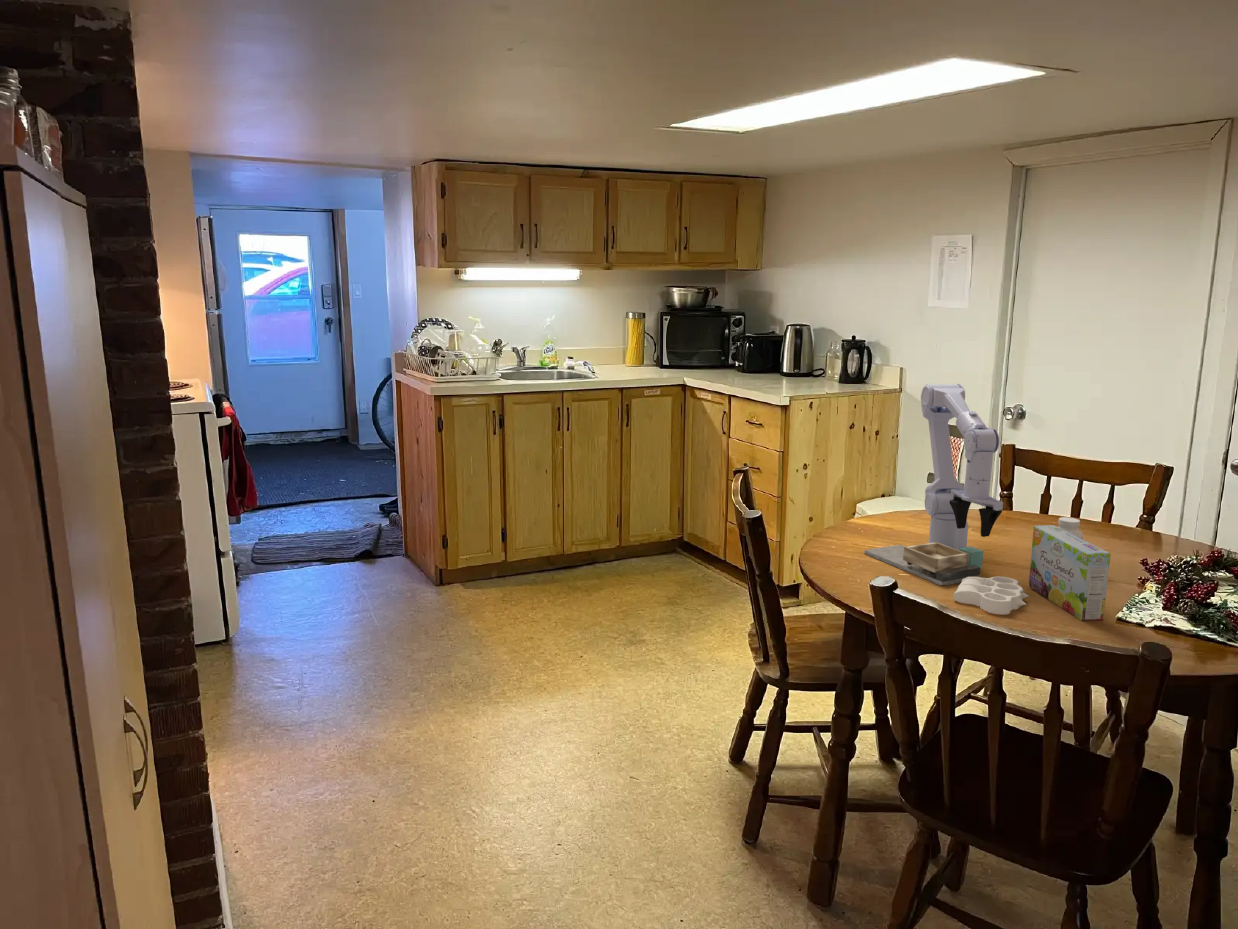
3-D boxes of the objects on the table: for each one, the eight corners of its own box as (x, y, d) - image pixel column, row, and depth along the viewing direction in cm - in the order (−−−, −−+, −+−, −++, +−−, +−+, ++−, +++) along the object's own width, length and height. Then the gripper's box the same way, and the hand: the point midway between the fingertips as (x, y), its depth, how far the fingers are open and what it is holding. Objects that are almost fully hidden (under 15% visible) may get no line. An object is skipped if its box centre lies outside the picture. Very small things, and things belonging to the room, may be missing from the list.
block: (969, 565, 220) (971, 546, 218) (981, 570, 216) (983, 550, 215) (957, 567, 218) (958, 548, 217) (969, 572, 214) (971, 552, 213)
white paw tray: (964, 584, 207) (1031, 595, 200) (950, 607, 192) (1022, 620, 185) (965, 570, 207) (1033, 581, 199) (951, 593, 191) (1024, 605, 184)
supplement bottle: (1082, 575, 213) (1088, 524, 210) (1052, 573, 214) (1058, 522, 211) (1074, 566, 219) (1079, 516, 217) (1045, 564, 221) (1051, 515, 218)
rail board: (900, 548, 233) (900, 537, 232) (979, 579, 209) (980, 567, 208) (864, 553, 228) (865, 542, 227) (941, 586, 204) (942, 574, 203)
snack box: (1025, 587, 204) (1032, 524, 201) (1048, 586, 205) (1055, 524, 202) (1079, 621, 184) (1088, 553, 181) (1105, 621, 184) (1114, 552, 181)
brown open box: (935, 558, 221) (936, 542, 220) (967, 570, 211) (969, 553, 210) (902, 563, 216) (903, 547, 215) (934, 576, 207) (935, 559, 206)
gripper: (943, 473, 217) (938, 526, 220) (989, 485, 204) (984, 541, 207) (964, 471, 220) (959, 523, 223) (1011, 483, 207) (1005, 538, 210)
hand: (972, 532), depth 215 cm, fingers open, 7 cm apart
